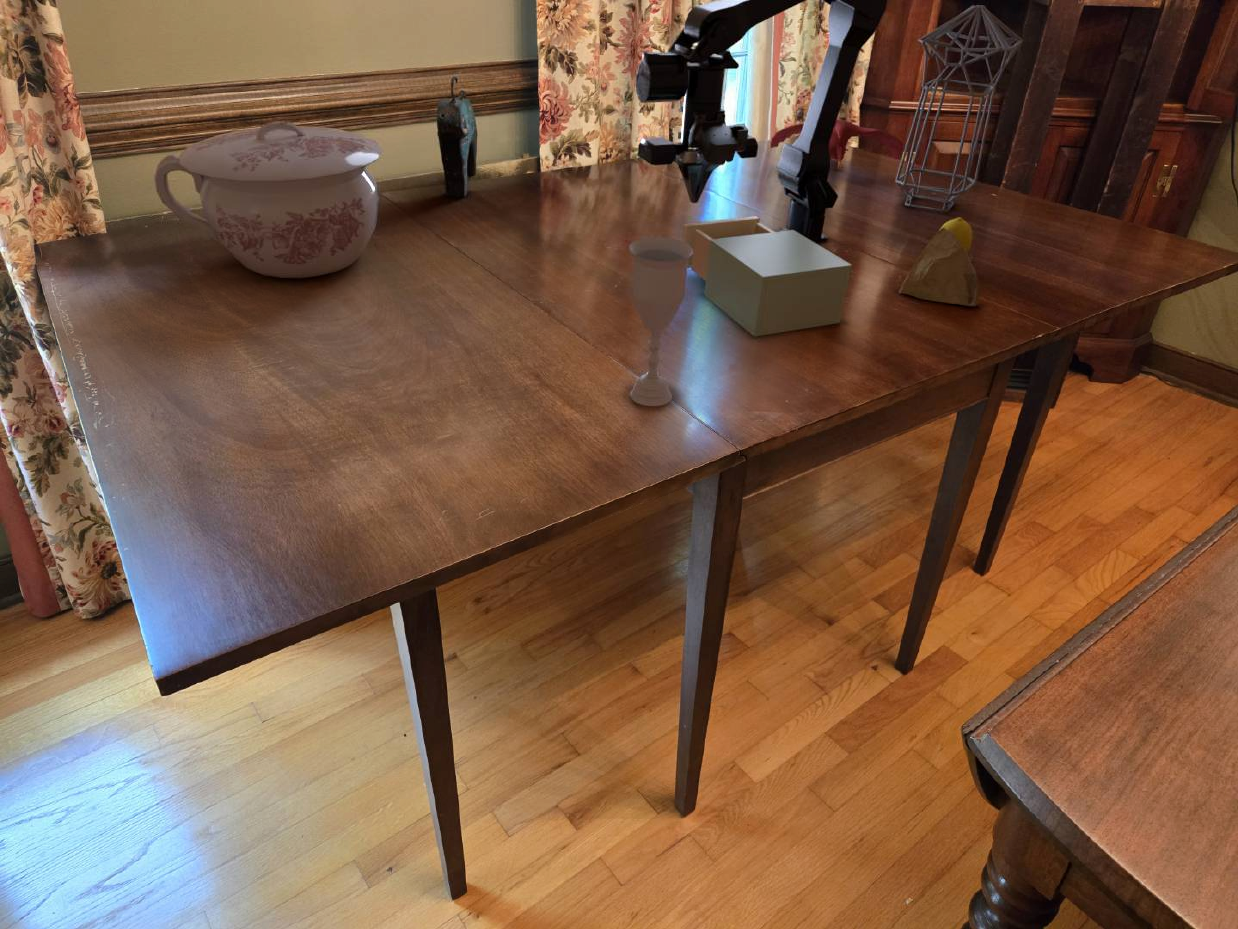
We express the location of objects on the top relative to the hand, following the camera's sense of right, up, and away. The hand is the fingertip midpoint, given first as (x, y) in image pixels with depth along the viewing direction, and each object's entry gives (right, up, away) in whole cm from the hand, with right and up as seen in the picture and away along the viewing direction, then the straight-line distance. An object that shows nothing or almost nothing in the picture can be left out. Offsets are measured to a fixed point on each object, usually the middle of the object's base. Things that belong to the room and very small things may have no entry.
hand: (693, 202), depth 135 cm
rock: (+37, -18, -9) cm, 42 cm away
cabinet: (+10, -20, -15) cm, 27 cm away
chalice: (-8, -35, -37) cm, 51 cm away
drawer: (+5, -13, -6) cm, 15 cm away
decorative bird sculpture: (+35, +24, +50) cm, 65 cm away
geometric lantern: (+49, +8, +29) cm, 58 cm away
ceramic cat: (-44, +12, +29) cm, 54 cm away
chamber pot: (-61, -12, -7) cm, 63 cm away
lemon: (+42, -10, +2) cm, 44 cm away
